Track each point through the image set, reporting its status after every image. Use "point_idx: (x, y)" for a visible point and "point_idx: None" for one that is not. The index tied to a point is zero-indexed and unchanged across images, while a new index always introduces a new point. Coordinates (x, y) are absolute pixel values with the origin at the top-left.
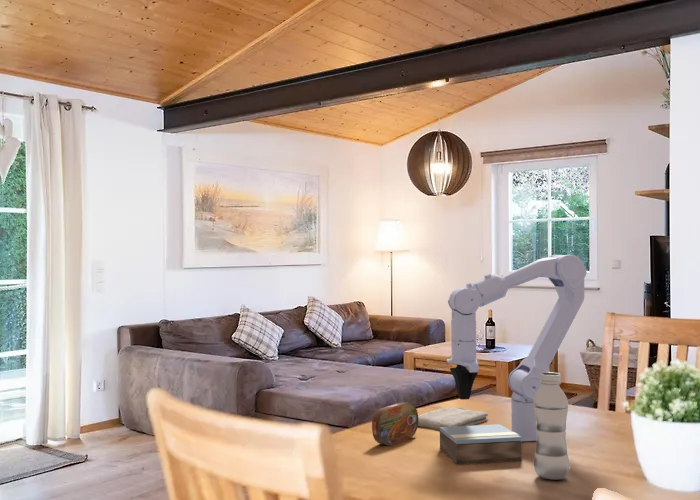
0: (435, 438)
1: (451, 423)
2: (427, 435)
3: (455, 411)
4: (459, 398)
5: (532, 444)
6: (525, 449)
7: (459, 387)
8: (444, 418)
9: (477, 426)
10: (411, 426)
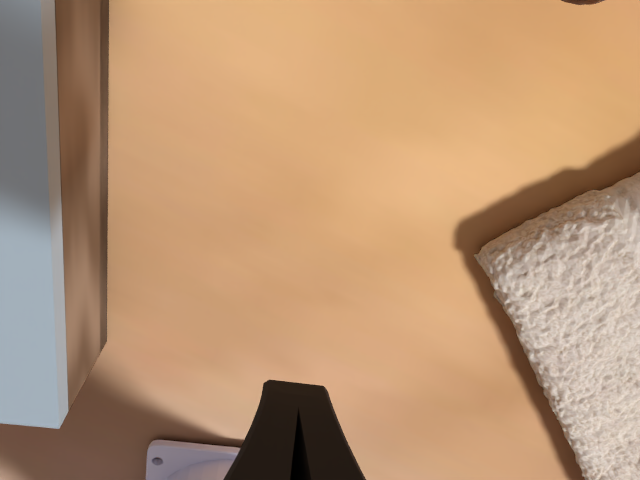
0: (391, 81)
1: (518, 277)
2: (487, 64)
3: None
4: (316, 385)
5: (106, 469)
6: None
7: (230, 471)
8: (634, 285)
9: (16, 280)
10: None
